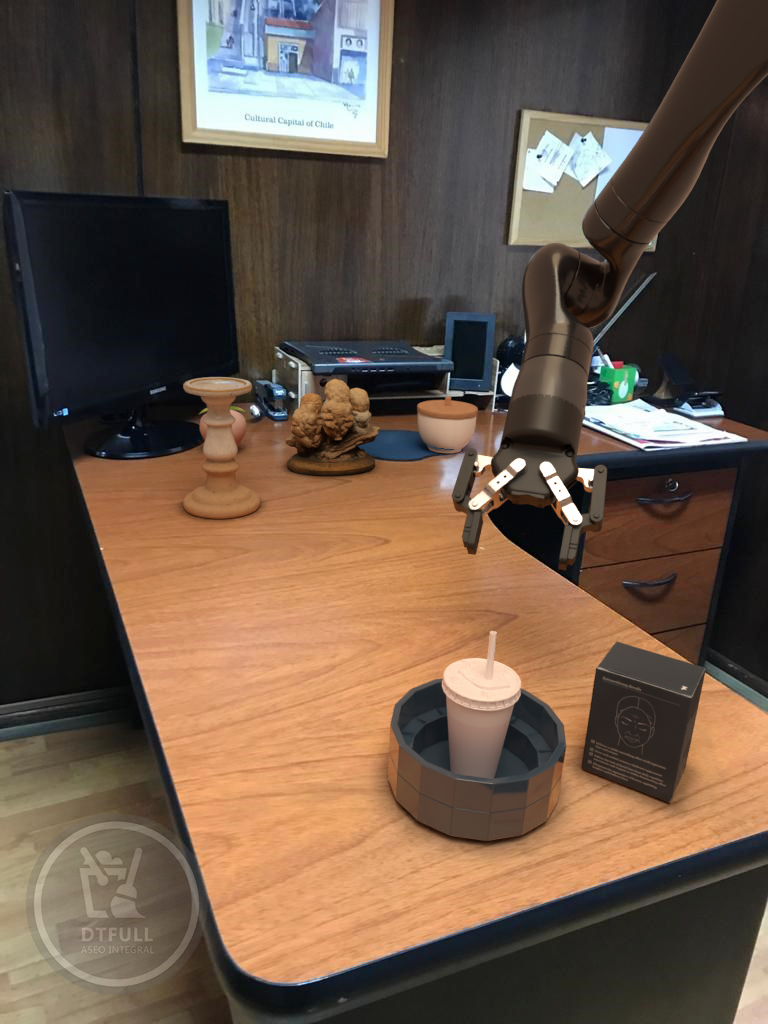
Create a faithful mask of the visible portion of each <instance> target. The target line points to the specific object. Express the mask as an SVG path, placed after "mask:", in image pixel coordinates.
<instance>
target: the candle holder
mask: <svg viewBox="0 0 768 1024" xmlns="http://www.w3.org/2000/svg"><path fill="white" fill-rule="evenodd" d="M182 385H183V386H182V388H183V390H184V392H185V393H187V394H189V395H192V396H198V397H200V398H201V401H202V402H203V403H205V406H206V408H208V412H207V415H206V416H205V417H204V418H203V422H204V423H205V424H206V425H207V432H206V438H205V440H204V442H203V444H202V445H203V446H202V454H203V456H204V457H205V458H207V459H206V460H204V462H203V463H202V465H201V469H202V470H203V471H204V473H205V474H206V482H205V483H206V484H203V485H200V486H198V487H196V488H195V489H194V490H193V491H190V492H189V493H187V494H186V495H185V496H184V498H183V500H182V506H183V510H185V512H187V513H188V514H190V515H193V516H196V517H198V518H203V519H213V520H214V519H215V520H217V519H219V520H222V519H224V520H225V519H233V518H239V517H243V516H247V515H250V514H252V513H254V512H255V511H257V510H258V509H259V508H260V506H261V497H260V495H259V494H258V492H255V491H254V490H252V489H250V488H248V487H247V486H245V485H242V484H240V483H237V478H236V473H237V472H238V470H239V469H240V463H239V462H238V461H237V460H236V459H235V457H236V456H237V454H238V452H239V449H238V444H236V442H235V439H234V435H233V431H232V424H233V423H235V418H234V417H233V416H232V415H231V413H230V406H232V403H234V402H235V401H236V397H238V396H239V397H240V396H243V395H246V394H248V393H250V392H251V391H252V389H253V384H252V382H251V381H250V380H247V379H243V378H238V377H228V376H208V377H207V376H206V377H196V378H192V379H189V380H185V381H184V382H183V384H182Z"/></svg>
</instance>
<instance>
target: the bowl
mask: <svg viewBox="0 0 768 1024" xmlns="http://www.w3.org/2000/svg"><path fill="white" fill-rule="evenodd" d="M442 680H443V677H442V678H436V679H432V680H430V681H427V682H424V683H422V684H420V685H417V686H414V687H412V688H411V689H409V690H408V691H407V692H406V693H405V694H404V695H403V696H402V697H401V698H400V699H399V700H397V701H396V702H395V704H394V705H393V709H392V715H391V719H390V722H389V723H390V724H389V739H388V740H389V741H388V742H389V743H388V757H387V758H388V760H387V775H386V776H387V780H388V783H389V785H390V788H391V790H392V793H393V796H394V798H395V801H397V803H399V805H401V806H402V808H404V809H405V810H406V811H407V812H408V813H409V815H411V816H412V817H413V818H414V819H415V820H416V821H417V822H419V823H421V824H423V825H426V826H428V827H430V828H432V829H434V830H437V831H439V832H441V833H443V834H445V835H448V836H450V837H454V838H455V837H456V838H462V839H463V838H464V839H470V840H477V841H484V842H487V841H488V842H489V841H495V840H501V839H502V840H503V839H507V838H515V837H521V836H523V835H525V834H527V833H529V832H530V831H532V830H533V829H535V828H537V827H539V826H540V825H542V824H543V823H545V822H547V821H548V819H549V817H550V815H551V813H552V812H553V810H554V808H555V806H556V805H557V803H558V801H559V797H560V790H561V784H562V776H563V771H564V764H565V756H566V751H567V740H566V731H565V725H564V723H563V721H562V720H561V719H560V718H559V716H558V715H557V714H556V712H555V711H554V710H553V709H552V707H551V706H550V705H549V704H548V703H546V702H545V701H544V700H542V699H540V698H539V697H537V696H535V695H534V694H533V693H531V692H529V691H528V690H526V689H524V688H522V687H521V689H520V691H521V695H520V697H519V699H518V701H517V702H516V703H515V704H514V707H513V711H512V715H511V718H510V722H509V725H508V729H507V733H506V736H505V740H504V744H503V748H502V751H501V755H500V759H499V763H498V766H497V770H496V774H495V777H494V779H489V778H482V777H474V776H467V775H459V774H455V773H453V772H451V770H450V753H449V736H448V719H447V704H446V694H445V693H444V691H443V688H442Z"/></svg>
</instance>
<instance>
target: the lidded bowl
mask: <svg viewBox="0 0 768 1024" xmlns="http://www.w3.org/2000/svg"><path fill="white" fill-rule="evenodd" d="M416 412H417V414H416V415H417V416H416V417H417V418H416V423H417V431H418V434H419V437H420V439H421V441H422V442H423V443H424V444H425V443H426V444H428V445H430V446H433V447H436V448H444V449H454V450H444V449H436V448H432V447H429V446H427V449H428V450H429V451H430V452H434V453H439V454H457V453H460V452H461V451H463V450H462V449H464V448H465V447H466V446H467V445H468V444H469V443H470V441H471V440H472V438H473V437H474V434H475V430H476V426H477V418H478V417H477V416H478V414H479V409H478V407H477V406H476V405H474V404H473V403H468V402H466V401H465V402H464V401H459V400H452V397H451V396H445V398H444V399H431V400H425V401H422V402H419V403H418V404H417V405H416ZM426 444H425V445H426Z"/></svg>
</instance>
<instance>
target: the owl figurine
mask: <svg viewBox="0 0 768 1024" xmlns="http://www.w3.org/2000/svg"><path fill="white" fill-rule="evenodd" d="M324 395H325V401H324V399H323V398H322V397H321V395H319V394H318V393H313V392H312V393H311V392H310V393H309V392H308V393H306V394H304V395H303V396H302V397H301V399H300V402H299V407H297V408H296V409H294V412H293V414H292V420H291V427H290V430H291V433H292V435H289V437H287V438H286V439H285V444H286V445H287V446H288V447H291V448H295V449H296V453H295V454H293V455H292V456H291V458H289V459H288V460H287V462H286V466H287V469H288V470H290V471H292V472H293V473H295V474H300V475H309V476H329V477H331V476H348V475H357V474H361V473H365V472H368V471H371V470H372V469H373V468H374V467H375V466H376V459H375V458H374V457H373V456H371V454H370V453H368V452H366V449H365V448H361V447H360V446H363V445H366V444H370V443H372V442H375V441H376V438H377V437H378V436H379V433H380V431H381V427H379V426H376V425H375V426H371V425H370V423H371V420H372V419H371V418H372V412H370V411H369V410H370V400H369V395H368V392H367V391H366V390H365V389H362V388H359V387H354V388H351V389H350V387H349V386H348V385H347V383H346V382H345V381H343V380H341V379H337V378H333V379H331V380H329V381H328V382H326V384H325V386H324Z"/></svg>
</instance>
